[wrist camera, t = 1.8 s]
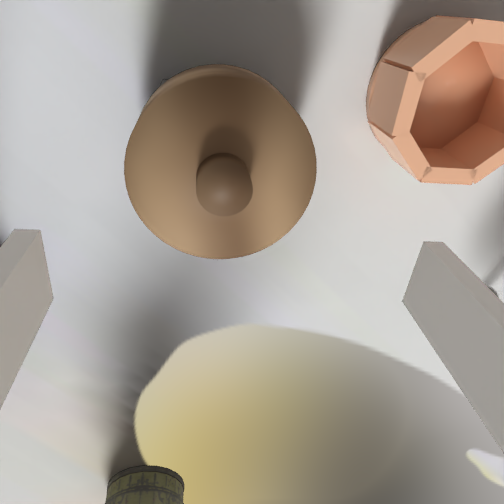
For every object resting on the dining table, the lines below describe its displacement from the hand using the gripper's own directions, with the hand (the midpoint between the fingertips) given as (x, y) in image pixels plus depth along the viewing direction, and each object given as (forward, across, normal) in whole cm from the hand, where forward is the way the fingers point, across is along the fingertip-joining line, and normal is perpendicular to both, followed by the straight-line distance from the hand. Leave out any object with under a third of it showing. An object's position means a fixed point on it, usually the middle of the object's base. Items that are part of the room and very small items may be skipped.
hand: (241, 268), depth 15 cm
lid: (+12, 0, 0) cm, 13 cm away
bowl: (+16, +14, +4) cm, 21 cm away
